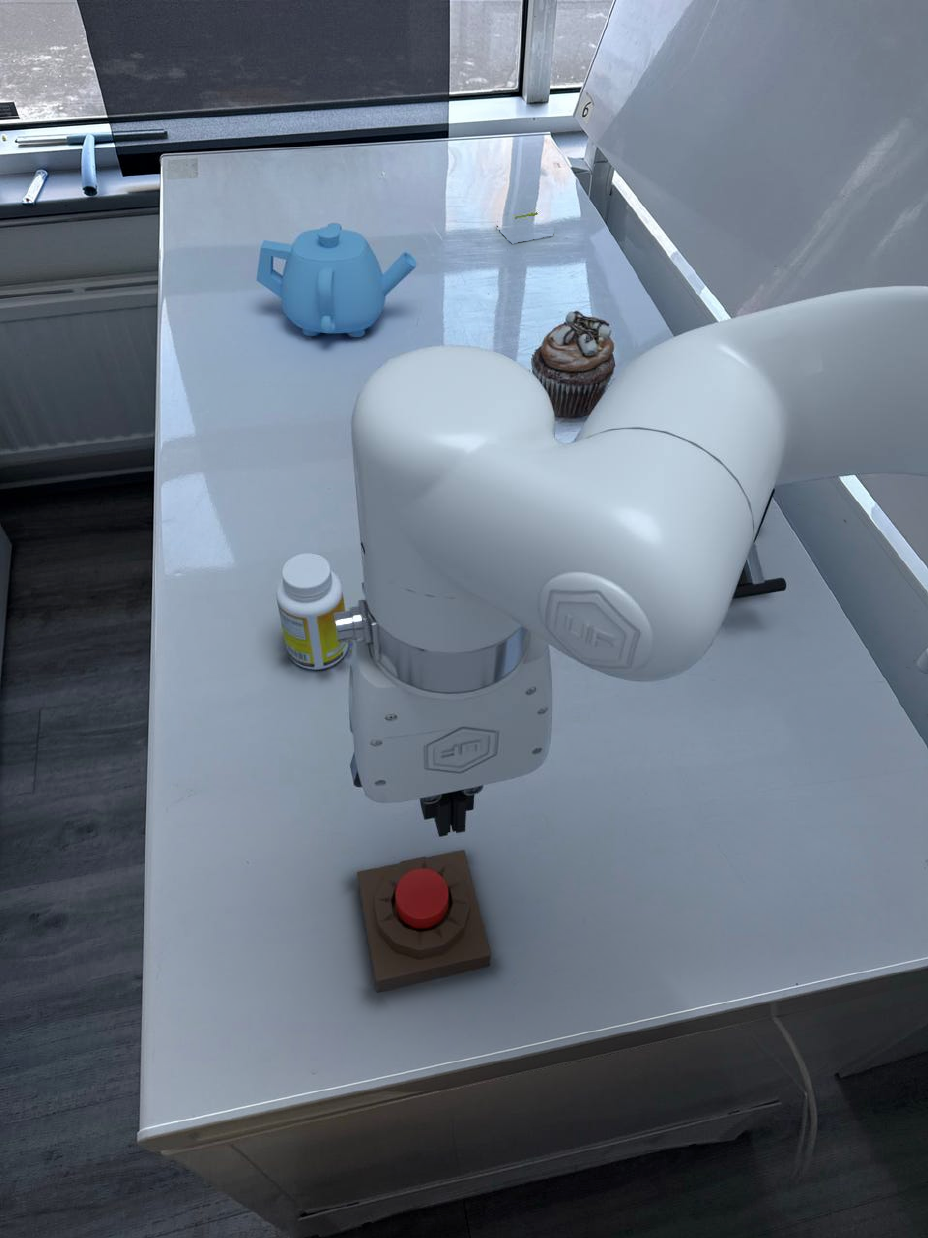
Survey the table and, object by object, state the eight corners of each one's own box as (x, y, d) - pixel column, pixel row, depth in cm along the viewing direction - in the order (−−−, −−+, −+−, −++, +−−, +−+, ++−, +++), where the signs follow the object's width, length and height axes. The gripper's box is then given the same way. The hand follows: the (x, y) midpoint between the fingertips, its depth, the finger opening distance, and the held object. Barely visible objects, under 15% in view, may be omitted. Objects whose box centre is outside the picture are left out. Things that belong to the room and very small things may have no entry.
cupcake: (541, 367, 111) (549, 292, 103) (616, 386, 109) (631, 310, 101) (516, 410, 105) (523, 334, 97) (595, 430, 103) (609, 354, 95)
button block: (489, 966, 63) (492, 945, 60) (376, 992, 61) (374, 972, 58) (463, 862, 68) (464, 838, 65) (358, 884, 66) (355, 860, 63)
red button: (453, 922, 61) (453, 912, 60) (401, 934, 60) (400, 924, 59) (441, 874, 63) (442, 863, 62) (391, 884, 63) (390, 874, 61)
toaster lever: (778, 593, 81) (791, 587, 79) (727, 601, 81) (739, 596, 78) (749, 479, 83) (761, 470, 81) (699, 486, 82) (710, 477, 80)
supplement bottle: (349, 623, 83) (341, 544, 75) (348, 671, 79) (339, 594, 72) (288, 625, 82) (274, 546, 75) (284, 673, 79) (269, 595, 71)
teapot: (254, 353, 111) (238, 262, 102) (271, 284, 122) (259, 196, 113) (415, 357, 111) (414, 267, 102) (419, 288, 122) (418, 201, 113)
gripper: (295, 712, 37) (333, 898, 51) (633, 649, 40) (582, 842, 54) (275, 583, 42) (315, 785, 56) (578, 534, 44) (544, 739, 58)
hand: (446, 813), depth 55 cm, fingers closed
